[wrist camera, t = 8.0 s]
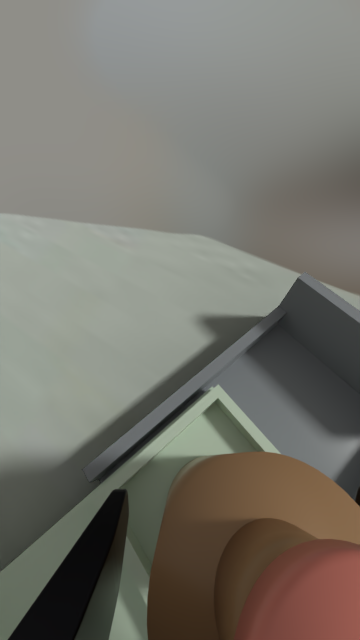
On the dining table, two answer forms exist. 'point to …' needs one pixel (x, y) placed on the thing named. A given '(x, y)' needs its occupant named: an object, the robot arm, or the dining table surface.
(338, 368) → the dock
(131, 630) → the tray
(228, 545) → the vinegar bottle
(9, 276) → the dining table surface
